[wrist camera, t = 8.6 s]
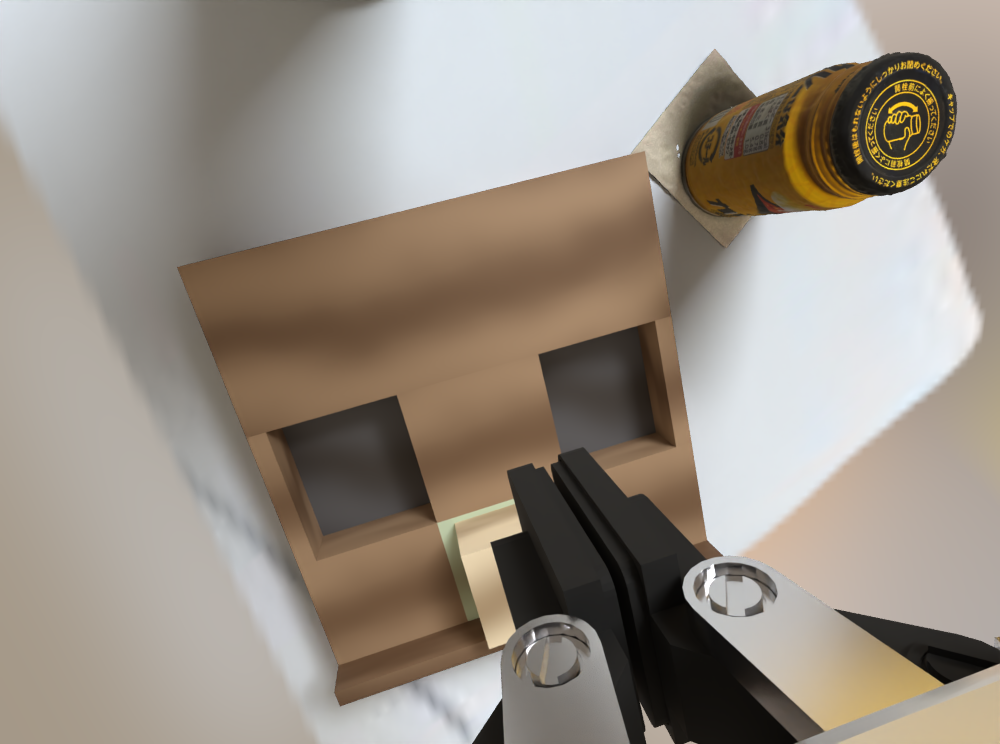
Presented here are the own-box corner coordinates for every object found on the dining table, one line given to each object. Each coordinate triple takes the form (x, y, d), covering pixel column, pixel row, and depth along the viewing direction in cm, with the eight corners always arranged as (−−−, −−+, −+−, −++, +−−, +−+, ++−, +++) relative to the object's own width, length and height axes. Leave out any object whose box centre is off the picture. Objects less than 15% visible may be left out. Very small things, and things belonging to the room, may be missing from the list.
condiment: (724, 248, 33) (894, 250, 22) (629, 154, 31) (764, 100, 19) (801, 154, 33) (1017, 104, 21) (711, 50, 30) (899, -68, 19)
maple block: (454, 522, 31) (460, 556, 28) (552, 491, 32) (570, 521, 28) (480, 607, 32) (489, 649, 29) (572, 576, 33) (592, 613, 30)
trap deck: (200, 264, 28) (158, 268, 23) (622, 159, 31) (662, 144, 26) (348, 642, 35) (340, 706, 30) (685, 529, 37) (726, 571, 33)
